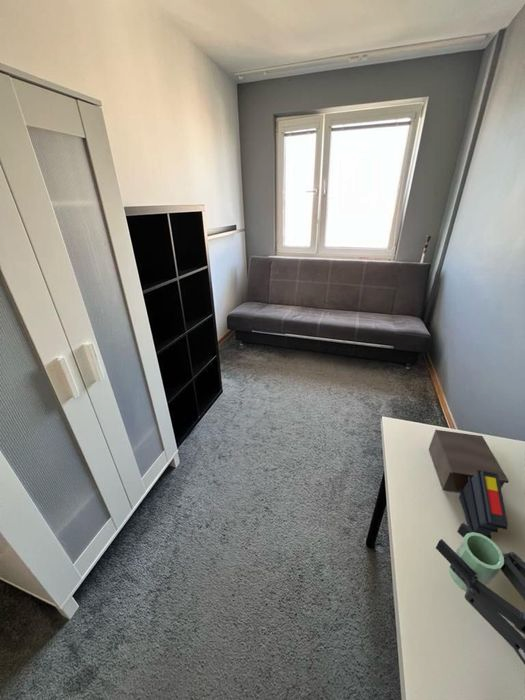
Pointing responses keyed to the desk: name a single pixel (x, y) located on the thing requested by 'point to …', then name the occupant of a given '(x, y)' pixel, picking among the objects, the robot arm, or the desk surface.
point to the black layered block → (483, 503)
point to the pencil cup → (479, 558)
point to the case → (446, 469)
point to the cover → (468, 454)
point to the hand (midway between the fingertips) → (449, 535)
